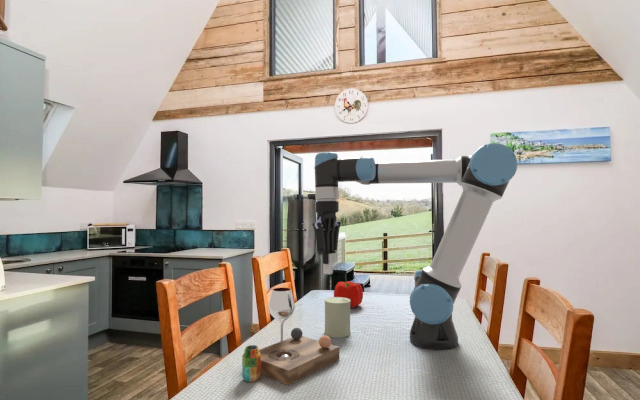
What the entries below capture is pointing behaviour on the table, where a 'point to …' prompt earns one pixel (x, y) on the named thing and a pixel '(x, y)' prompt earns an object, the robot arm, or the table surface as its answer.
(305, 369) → the wooden block with hole
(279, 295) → the wineglass
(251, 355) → the jar
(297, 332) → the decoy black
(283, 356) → the steel ball
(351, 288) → the red bell pepper
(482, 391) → the table surface
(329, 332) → the can
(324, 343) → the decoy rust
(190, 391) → the table surface
